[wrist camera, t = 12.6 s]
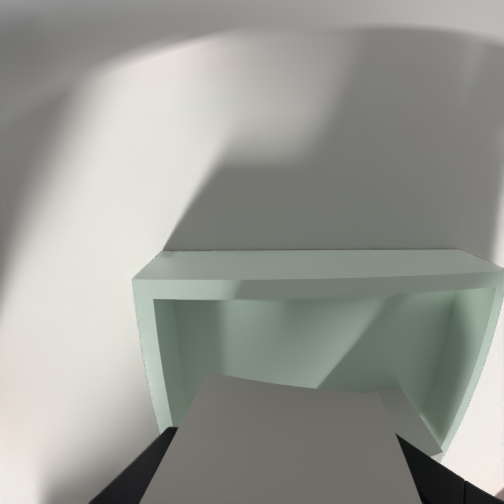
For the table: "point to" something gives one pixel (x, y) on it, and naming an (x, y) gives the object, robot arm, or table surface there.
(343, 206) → the table surface
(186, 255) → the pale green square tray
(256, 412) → the grey stone cube
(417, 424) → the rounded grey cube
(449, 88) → the table surface
